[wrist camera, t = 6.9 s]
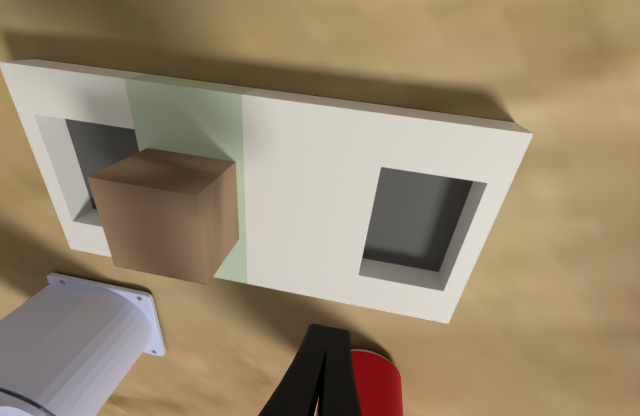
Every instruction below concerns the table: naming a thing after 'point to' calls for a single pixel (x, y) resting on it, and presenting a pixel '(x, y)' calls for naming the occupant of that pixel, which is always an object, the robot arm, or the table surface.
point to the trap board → (288, 177)
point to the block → (168, 213)
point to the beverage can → (376, 384)
